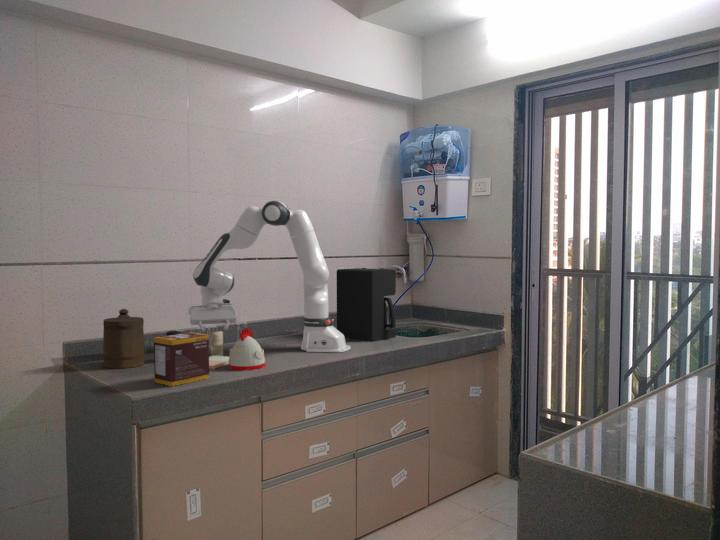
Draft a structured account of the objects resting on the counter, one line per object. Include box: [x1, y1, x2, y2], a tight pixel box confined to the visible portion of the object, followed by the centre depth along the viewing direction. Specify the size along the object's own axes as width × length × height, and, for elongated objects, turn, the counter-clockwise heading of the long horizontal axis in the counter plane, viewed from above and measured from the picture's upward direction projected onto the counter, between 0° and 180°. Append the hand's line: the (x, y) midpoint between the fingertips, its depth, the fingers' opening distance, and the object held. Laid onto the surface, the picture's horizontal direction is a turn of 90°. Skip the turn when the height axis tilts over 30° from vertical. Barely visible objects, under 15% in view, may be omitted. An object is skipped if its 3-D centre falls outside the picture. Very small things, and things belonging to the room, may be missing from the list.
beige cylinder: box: [210, 330, 224, 356], centre depth 241 cm, size 5×5×10 cm
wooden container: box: [102, 308, 146, 370], centre depth 222 cm, size 15×15×22 cm
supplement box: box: [153, 331, 210, 387], centre depth 195 cm, size 10×15×16 cm
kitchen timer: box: [227, 327, 266, 372], centre depth 218 cm, size 14×14×15 cm
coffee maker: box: [336, 267, 397, 343], centre depth 288 cm, size 28×20×35 cm
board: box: [209, 355, 230, 370], centre depth 224 cm, size 12×18×1 cm, turn 161°
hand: (215, 330), depth 246 cm, fingers open, 8 cm apart
